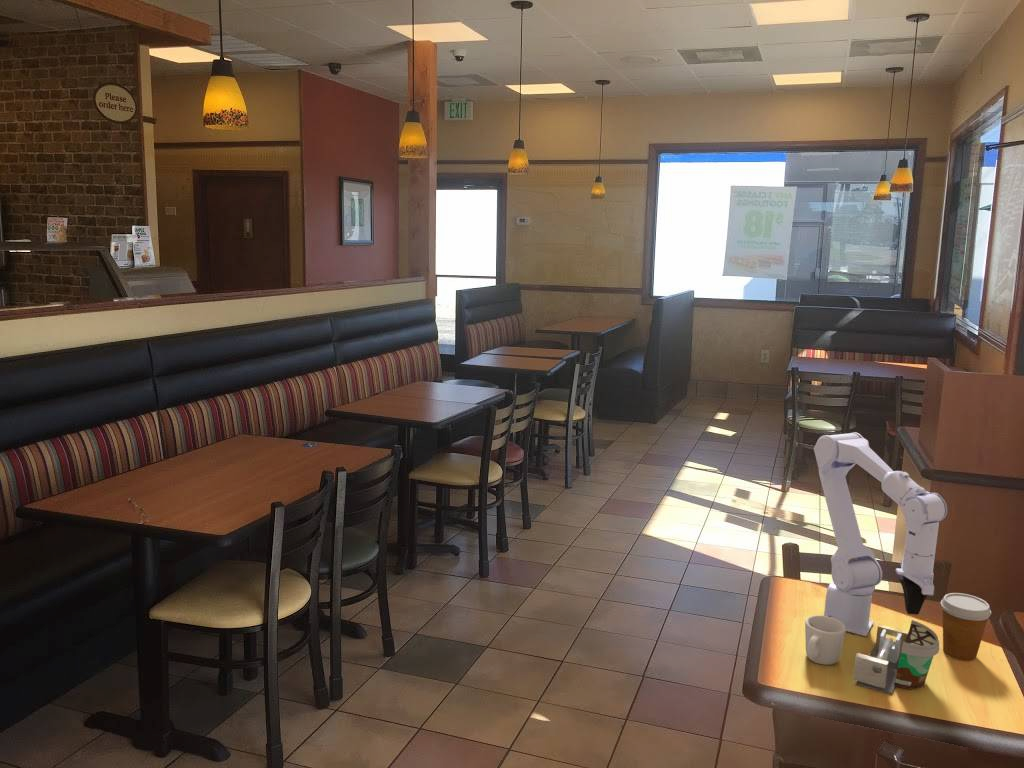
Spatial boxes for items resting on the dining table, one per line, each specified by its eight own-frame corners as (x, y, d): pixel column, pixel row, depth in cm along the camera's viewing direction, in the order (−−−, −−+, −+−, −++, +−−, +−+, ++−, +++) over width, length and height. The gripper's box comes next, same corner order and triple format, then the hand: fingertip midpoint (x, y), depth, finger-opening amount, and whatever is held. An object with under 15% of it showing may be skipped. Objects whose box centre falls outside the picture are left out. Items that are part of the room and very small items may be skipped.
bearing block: (877, 660, 179) (880, 635, 178) (880, 653, 182) (883, 628, 181) (895, 665, 177) (898, 640, 176) (898, 658, 180) (901, 633, 179)
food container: (926, 701, 164) (937, 654, 162) (892, 688, 167) (902, 643, 165) (934, 673, 174) (944, 629, 172) (902, 662, 177) (912, 618, 175)
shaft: (853, 679, 169) (855, 656, 168) (866, 652, 180) (869, 630, 179) (884, 688, 166) (887, 664, 165) (896, 660, 177) (898, 638, 176)
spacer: (875, 649, 182) (877, 626, 181) (876, 647, 184) (878, 623, 183) (905, 657, 179) (908, 634, 178) (906, 655, 180) (909, 631, 179)
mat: (856, 684, 169) (856, 682, 169) (876, 642, 187) (876, 640, 187) (891, 694, 166) (892, 692, 166) (909, 650, 183) (909, 649, 183)
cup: (827, 678, 171) (831, 641, 170) (789, 664, 177) (793, 628, 175) (848, 659, 179) (852, 623, 178) (811, 645, 184) (815, 611, 183)
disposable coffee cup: (991, 667, 177) (998, 614, 175) (941, 662, 179) (948, 608, 176) (976, 645, 186) (983, 594, 184) (929, 640, 188) (935, 589, 186)
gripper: (888, 537, 183) (882, 596, 185) (910, 563, 169) (902, 627, 171) (923, 539, 182) (916, 598, 184) (948, 566, 168) (939, 630, 170)
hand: (912, 612), depth 178 cm, fingers closed
